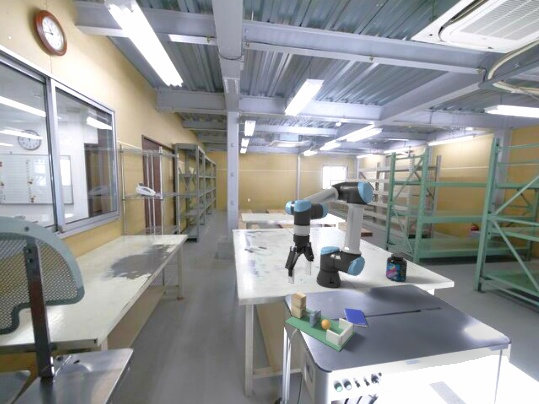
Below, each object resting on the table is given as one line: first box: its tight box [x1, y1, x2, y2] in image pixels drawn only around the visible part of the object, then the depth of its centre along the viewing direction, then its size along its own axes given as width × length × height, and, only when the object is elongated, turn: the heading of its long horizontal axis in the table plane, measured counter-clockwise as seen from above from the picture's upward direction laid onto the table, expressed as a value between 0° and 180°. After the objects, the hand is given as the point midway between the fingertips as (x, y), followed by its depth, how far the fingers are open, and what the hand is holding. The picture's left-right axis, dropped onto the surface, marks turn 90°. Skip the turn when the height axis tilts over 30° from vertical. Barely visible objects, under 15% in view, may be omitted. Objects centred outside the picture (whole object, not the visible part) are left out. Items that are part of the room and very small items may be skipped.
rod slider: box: [290, 291, 322, 327], centre depth 106 cm, size 7×12×10 cm, turn 47°
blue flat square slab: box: [343, 307, 369, 328], centre depth 109 cm, size 2×8×12 cm
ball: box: [321, 320, 331, 330], centre depth 99 cm, size 4×4×4 cm
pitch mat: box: [284, 307, 357, 352], centre depth 101 cm, size 16×26×1 cm, turn 47°
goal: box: [326, 317, 355, 347], centre depth 95 cm, size 12×6×4 cm, turn 137°
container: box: [385, 253, 408, 283], centre depth 155 cm, size 12×12×17 cm
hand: (300, 278), depth 107 cm, fingers open, 13 cm apart
